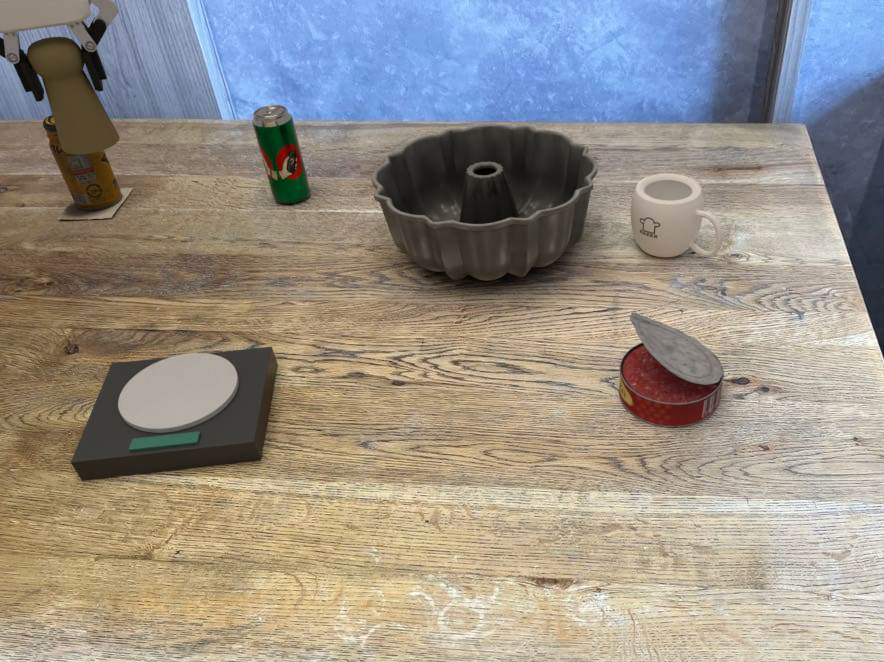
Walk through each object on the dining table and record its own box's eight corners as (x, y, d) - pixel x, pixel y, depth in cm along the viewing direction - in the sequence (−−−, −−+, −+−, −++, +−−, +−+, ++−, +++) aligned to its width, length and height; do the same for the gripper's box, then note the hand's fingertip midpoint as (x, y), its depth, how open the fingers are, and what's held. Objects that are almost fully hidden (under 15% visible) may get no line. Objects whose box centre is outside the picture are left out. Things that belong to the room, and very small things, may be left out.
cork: (55, 157, 89) (9, 52, 81) (69, 134, 93) (26, 33, 86) (113, 151, 89) (72, 47, 82) (124, 129, 94) (86, 28, 86)
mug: (615, 249, 100) (616, 189, 94) (656, 221, 104) (660, 163, 99) (698, 283, 93) (704, 222, 88) (737, 252, 98) (746, 192, 93)
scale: (81, 480, 74) (67, 457, 72) (120, 381, 84) (109, 358, 82) (261, 460, 75) (252, 437, 73) (277, 364, 85) (270, 341, 83)
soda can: (316, 189, 114) (296, 104, 106) (302, 206, 110) (280, 120, 102) (282, 187, 114) (260, 102, 106) (267, 204, 111) (243, 118, 103)
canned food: (636, 397, 86) (648, 303, 84) (729, 418, 82) (745, 319, 79) (591, 418, 76) (604, 313, 74) (694, 443, 72) (712, 332, 70)
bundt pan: (398, 195, 112) (386, 124, 105) (590, 188, 111) (591, 116, 104) (370, 308, 92) (353, 230, 85) (603, 300, 92) (605, 221, 85)
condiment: (133, 188, 116) (99, 105, 108) (111, 219, 109) (74, 132, 101) (82, 191, 116) (44, 107, 108) (57, 221, 109) (15, 135, 101)
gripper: (87, -121, 80) (151, 67, 92) (-111, -102, 75) (-16, 94, 88) (89, -108, 75) (156, 90, 87) (-124, -86, 70) (-21, 120, 82)
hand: (69, 90), depth 87 cm, fingers closed on cork, 5 cm apart
